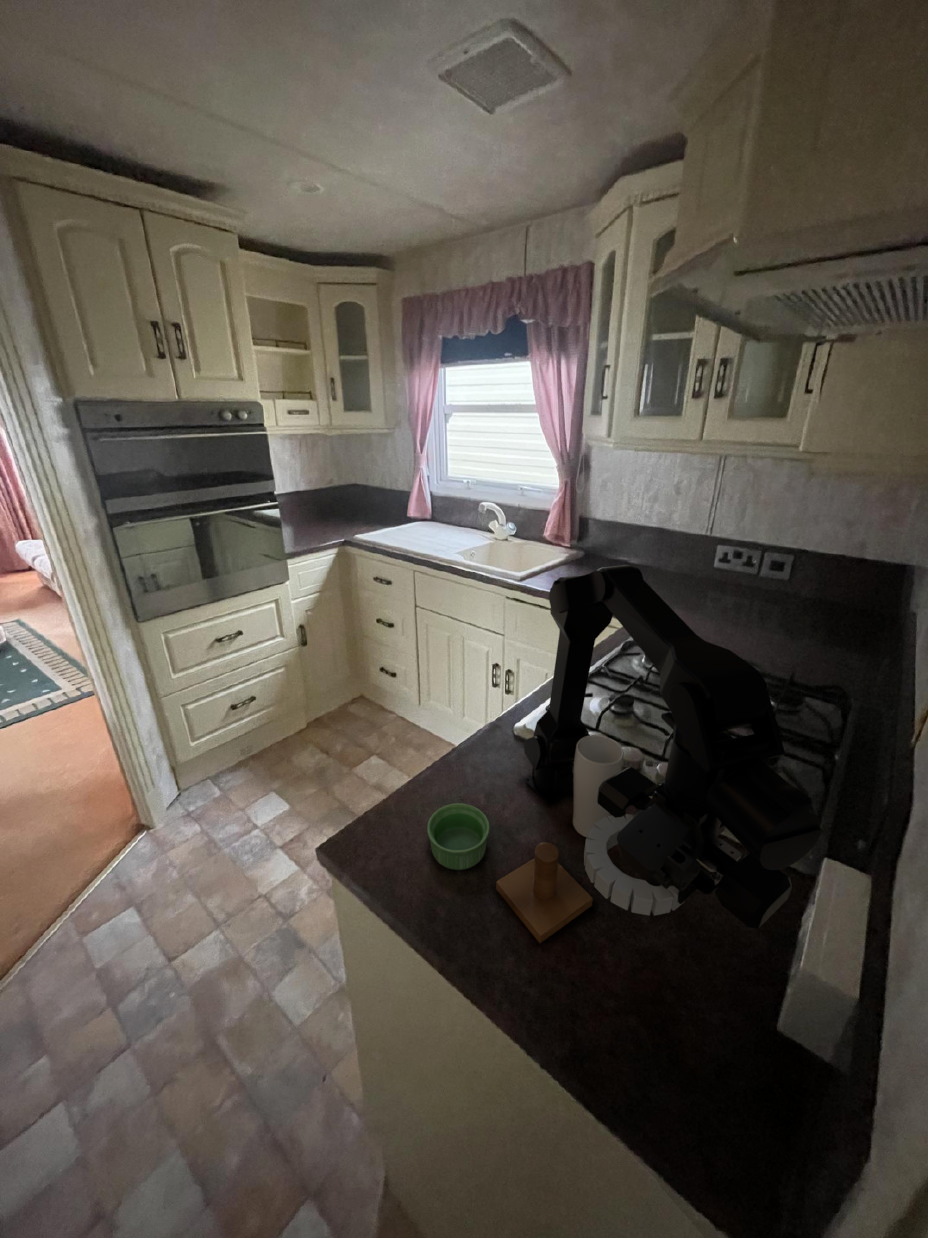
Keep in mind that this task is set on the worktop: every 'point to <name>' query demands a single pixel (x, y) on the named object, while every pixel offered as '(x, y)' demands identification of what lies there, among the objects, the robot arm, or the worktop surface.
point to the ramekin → (458, 835)
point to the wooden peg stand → (544, 893)
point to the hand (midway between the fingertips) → (670, 891)
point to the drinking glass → (593, 778)
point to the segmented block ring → (617, 882)
